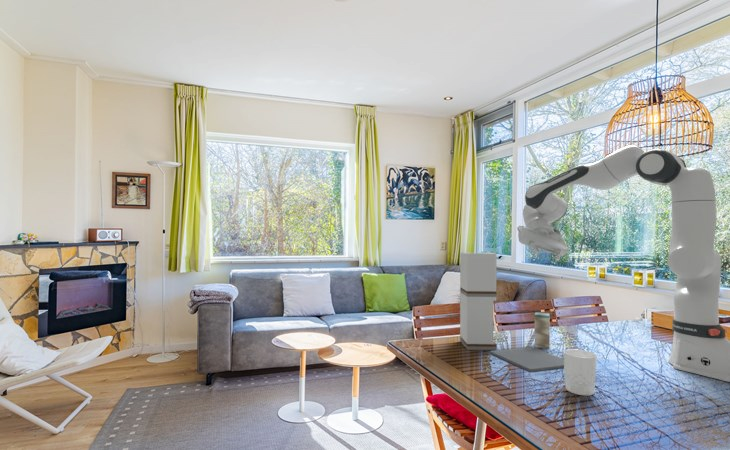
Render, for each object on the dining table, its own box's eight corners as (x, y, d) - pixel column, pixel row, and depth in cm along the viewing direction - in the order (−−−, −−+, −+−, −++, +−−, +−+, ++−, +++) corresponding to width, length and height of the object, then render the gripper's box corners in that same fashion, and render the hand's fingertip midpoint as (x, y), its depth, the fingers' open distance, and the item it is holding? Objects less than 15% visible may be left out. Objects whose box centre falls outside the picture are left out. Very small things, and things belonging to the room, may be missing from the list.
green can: (549, 345, 150) (549, 313, 151) (549, 348, 146) (549, 315, 146) (535, 343, 152) (535, 312, 153) (534, 346, 148) (534, 314, 148)
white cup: (567, 383, 111) (566, 347, 112) (599, 390, 106) (599, 352, 107) (560, 391, 105) (559, 353, 105) (593, 399, 100) (593, 359, 100)
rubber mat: (576, 366, 126) (576, 363, 126) (530, 371, 120) (530, 369, 120) (531, 349, 145) (531, 346, 145) (489, 353, 139) (489, 351, 139)
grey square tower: (496, 350, 143) (496, 253, 144) (467, 349, 144) (467, 253, 145) (487, 341, 155) (487, 252, 156) (460, 341, 155) (460, 252, 156)
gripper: (521, 219, 160) (527, 243, 150) (565, 233, 163) (575, 258, 153) (512, 229, 164) (518, 253, 154) (556, 243, 167) (564, 268, 157)
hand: (547, 256), depth 154 cm, fingers open, 8 cm apart
